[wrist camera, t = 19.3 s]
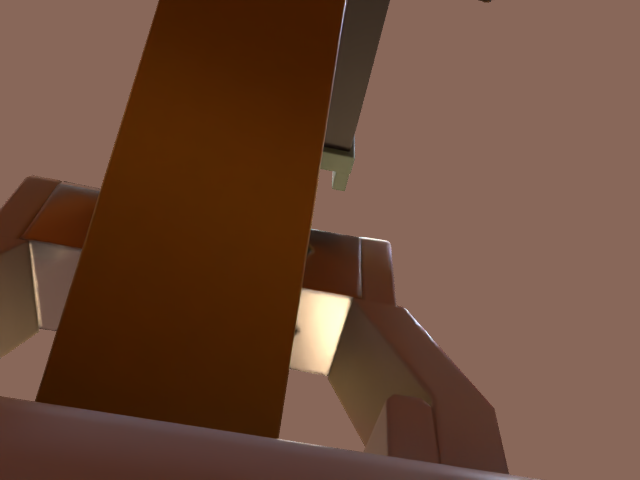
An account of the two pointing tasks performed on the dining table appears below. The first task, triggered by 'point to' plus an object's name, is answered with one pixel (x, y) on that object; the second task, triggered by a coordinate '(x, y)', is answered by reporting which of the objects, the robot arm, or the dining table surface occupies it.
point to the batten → (203, 220)
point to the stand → (351, 84)
